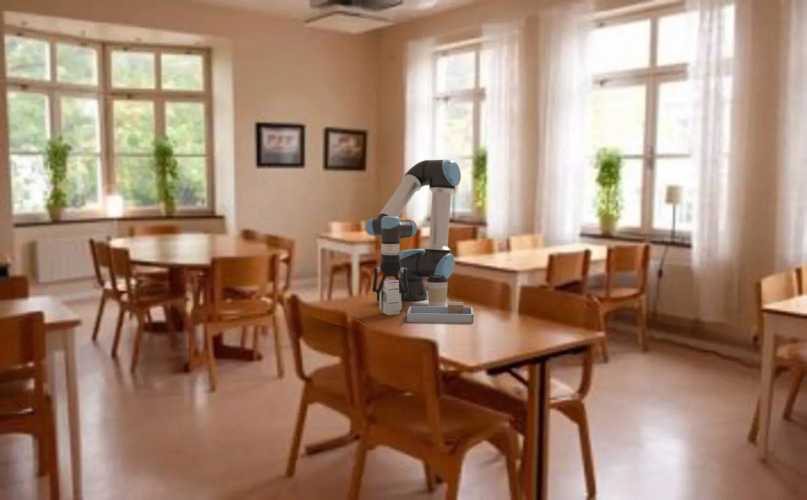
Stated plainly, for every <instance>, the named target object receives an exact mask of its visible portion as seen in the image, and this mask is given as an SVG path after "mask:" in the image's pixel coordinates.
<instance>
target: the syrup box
mask: <svg viewBox="0 0 807 500" xmlns="http://www.w3.org/2000/svg"><path fill="white" fill-rule="evenodd" d="M381 293H382V309H381V313H382V314H384V315H386V316H394V315H395V316H396V315H400V310H399V280H396V279H395V277H391V278H390V277H389V278H387V277H386V278H385V280H384V283H383V286H382V288H381Z"/></svg>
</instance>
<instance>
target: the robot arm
mask: <svg viewBox="0 0 807 500" xmlns="http://www.w3.org/2000/svg"><path fill="white" fill-rule="evenodd" d="M461 179H462V173H461V169H460V167H459V165H458V163H457V162H456V160H455V161H454V160H452V159H424V160H422V161H419V162H418V163H415V164H414V165H413V166H411V168H409V169H408V170H407V171H406V173H405V174H404V176H402V179H401V183H400V184H399V186H398V187H397V189H396V190H395V191H394V192H393V194H392V195H391V197H390V198H389V200H388V201H387V202H386V204H385V205H384V206H383V208H382V209H381V211H380V212H379V214H378V215H377V216H376V217H375V218H369V219H368V220H367V221H366V224H365V231H366V233H367V235H368V236H371V237H378V238H379V237H381V248H380V251H381V255H380V256H381V257H380V259H381V265H380V266H378V267H374V268H373V272H374V276H373V277H374V279H373V285H372V290H371V291H372V292H375V293H376V300H377V302H379V303H378V304H379V310H382V286H383V283H384V280H385V279H387V277H389V278H390V277H391V278H394V279H396V280H399V311H400V310H402V306H403V305H402V302H404V301H405V300H406V301H407V302H408V301H409V302H414V300H419V301H424V300H423V299H425V300H428V290H427V288H426V287H427V286H426V284H425V280H424V279H425V278H427V279H428V278H429V276H430V275H431V276H432V275H442V276H445V277H446V278H447V279H449V278H450V277H451V276H452V274H453V273H454V270H455V267H456V259H455V256H454V255H453V254H452V253H451V248H449V246H448V245H449V229H450V216H451V215H450V213H451V203H452V194H453V192H454V191H455V190H456V187H457V186H459V184H460V182H461ZM425 186H429V187H428V188H429V190H430V191H431V193H432V194H431V209H430V210H431V211H430V220H429V222H430V223H429V236H428V237H429V238H428V240H429V241H428V245H427V246H426V247H425V248H415V249H414V248H413V249H406V250H405V249H404V250H401V248H400V244H401V243H400V240H401V239H405V238H406V239H409V238H412V237H414V236H416V234H417V231H418V225H417V223H416V222H415V221H414V220H411V219H400V217H399V216H400V215H401V213H402V211H403V210H404V209H405V207H406V206H407V205H408V203H409V202H410V200H411V199H412V198H413V196H414V195H415V193H416V192H419V191H420V190H421V189H422V187H425ZM380 271H381V272H382V274H383V275H382V277H381V281H380V283H379V286H378V288H377V285H378V277H379V273H380Z"/></svg>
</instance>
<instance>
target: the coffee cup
mask: <svg viewBox="0 0 807 500" xmlns="http://www.w3.org/2000/svg"><path fill="white" fill-rule="evenodd" d="M426 282H427V284H426V285H427V286H426V287H427V288H426V290H427V294H428V298H427V300H428V306H442V307H446V303H447V295H448V282H449V280H448V278H446V277H445V276H442V275H432V276H431V275H430V276H429V278H427V280H426Z"/></svg>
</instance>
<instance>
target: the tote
mask: <svg viewBox="0 0 807 500" xmlns="http://www.w3.org/2000/svg"><path fill="white" fill-rule="evenodd" d="M406 322H407V323H446V324H448V323H453V324H457V323H458V324H474V307H473V306H463V314H448V306H445V307H442V306H429V305H428V306H427V305H425V306H424V305H409V307H408V309H407V311H406Z"/></svg>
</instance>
